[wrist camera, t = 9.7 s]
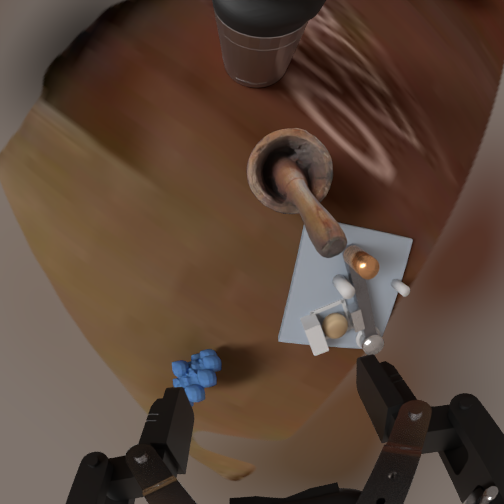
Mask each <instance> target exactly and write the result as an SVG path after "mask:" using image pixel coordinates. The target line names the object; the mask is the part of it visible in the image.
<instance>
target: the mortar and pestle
mask: <svg viewBox="0 0 504 504" xmlns="http://www.w3.org/2000/svg"><path fill="white" fill-rule="evenodd" d="M247 178H248V183H249V186H250V189H251V191H252V193H253V194H254V195H255V196H256V198H257V199H258V200H259V201H260V202H261V203H262V204H263V205H265V206H266V207H269V208H271V209H273V210H274V211H276V212H280V213H283V214H297V213H300V215H301V217H302V220H303V222H304V225H305V228H306V231H307V233H308V236H309V238H310V240H311V242H312V244H313V245H314V247H315V249H316V251H317V252H318V253H319V254H320V255H321V256H322V257H325V258H332V257H334V256H337V255H339V254H340V253H342V252H343V251H344V249H345V248H346V246H347V238H346V236H345V233H344V232H343V230H342V228H341V227H340V225H339V224H338V223H337V221H336V220H335V219H334V218H333V217H332V215H331V214H330V213H329V212H328V211H327V210H326V209H325V208H324V207H323V206H322V205H321V204H320V202H321V201H322V200H323V199H324V198H325V197H326V195H327V193H328V191H329V189H330V186H331V182H332V179H333V166H332V159H331V157H330V154H329V153H328V151H327V149H326V148H325V146H324V145H323V144H322V143H321V142H320V141H319V140H318V139H317V138H316V137H315V136H313V135H311V134H310V133H308V132H307V131H306V130H302V129H298V128H294V129H291V128H288V129H281V130H278V131H274V132H272V133H271V134H269V135H267V136H265V137H264V138H263V139H262V140H261V141H260V142H259V143H258V144H257V145H256V146H255V148H254V149H253V151H252V153H251V155H250V157H249V160H248V164H247Z"/></svg>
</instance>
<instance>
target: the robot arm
mask: <svg viewBox="0 0 504 504" xmlns="http://www.w3.org/2000/svg"><path fill="white" fill-rule="evenodd" d="M212 1H213V7H214V12H215V17H216V22H217V27H218V33H219V38H220V44H221V50H222V56H223V61H224V66H225V69H226V71H227V73H228V75H229V76H230V77H231V78H232V79H233V80H235V81H236V82H237V83H239V84H241V85H243V86H247V87H253V88H260V87H266V86H269V85H272V84H274V83H276V82H277V81H278V80H279V79H281V78H282V76H283V75H284V74H285V72H286V70H287V67H288V65H289V63H290V61H291V59H292V57H293V54H294V52H295V50H296V48H297V45H298V43H299V41H300V39H301V36H302V34H303V32H304V30H305V27H306V25H307V23H308V21H309V20H310V19H312V18H313V17H315V16H316V15H317V13H318V12H319V11H320V9H321V8H322V6H323V4H324V3H325V1H326V0H212ZM356 383H357V390H358V393H359V396H360V398H361V400H362V402H363V404H364V406H365V408H366V411H367V413H368V415H369V417H370V419H371V421H372V423H373V425H374V427H375V430H376V432H377V434H378V436H379V438H380V441H381V443H385V442H387V444H386V445H384V447H383V449H382V451H381V453H380V455H379V458H378V460H377V462H376V464H375V467H374V469H373V471H372V473H371V475H370V477H369V479H368V481H367V483H366V485H365V487H364V489H363V491H360V490H356V489H347V488H339V487H338V484H337V483H332V484H328V485H324V486H319V487H314V488H310V489H308V490H305V491H303V492H300V493H298V494H295V495H292V496H290V497H287V498H270V497H259V496H254V497H241V498H230V504H403V503H404V501H405V498H406V496H407V494H408V491H409V488H410V486H411V483H412V480H413V478H414V475H415V472H416V469H417V466H418V463H419V460H420V457H421V454H424V453H432V452H438V453H439V455H440V457H441V459H442V461H443V463H444V465H445V467H446V470H447V471H448V474H449V476H450V478H451V480H452V482H453V484H454V486H455V489H456V491H457V493H458V495H459V497H460V500H461V502H462V504H504V434H503V433H502V431H501V430H500V428H499V427H498V426H497V424H496V423H495V421H494V420H493V419H492V417H491V416H490V414H489V413H488V412H487V410H486V409H485V408H484V406H483V405H482V404H481V402H480V401H479V400H478V399H477V398H476V397H475V396H473V395H472V394H467V393H463V394H459V395H457V396H455V397H454V398H453V399H452V400H451V402H450V405H443V406H436V407H431V406H430V405H429V404H428V403H426V402H424V401H421V400H417V399H416V397H415V396H414V395H413V393H412V392H411V390H410V389H409V387H408V386H407V384H406V383H405V381H404V380H402V377H401V376H400V375H399V373H398V371H397V370H396V369H395V367H394V366H393V365H391V364H389V363H387V362H386V361H385V362H381V363H379V362H378V360H377V359H376V357H375V355H374V354H370V355H367V356H363V357H359V358H357V381H356ZM193 425H194V413H193V409H192V407H191V404H190V402H189V400H188V397H187V395H186V392H185V390H184V388H183V387H172V388H166V390H165V393H164V396H163V398H162V399H157V400H156V401H155V402H154V403H153V405H152V406H151V408H150V411H149V415H148V417H147V422H146V423H145V426H144V429H143V432H142V435H141V438H140V441H139V444H137V445H134V446H132V447H131V448H130V449H129V450H128V451H127V452H126V455H125V456H121V457H115V458H109V459H108V458H107V456H106V455H105V454H103V453H101V452H92V453H89V454H87V455H86V456H85V457H84V458H83V459H82V461H81V463H80V466H79V468H78V471H77V474H76V476H75V479H74V482H73V484H72V487H71V490H70V493H69V496H68V499H67V502H66V504H134V502H135V498H139V497H144V498H145V499H146V501H147V502H148V504H197V503H196V502H195V501H194V500H193V498H192V497H191V496H190V495H189V494H188V492H187V491H186V490H185V489H184V488H183V486H182V485H181V484H180V482H179V481H178V480H177V479H176V477H177V474H185V473H186V467H187V461H188V455H189V449H190V443H191V437H192V431H193Z"/></svg>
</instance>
